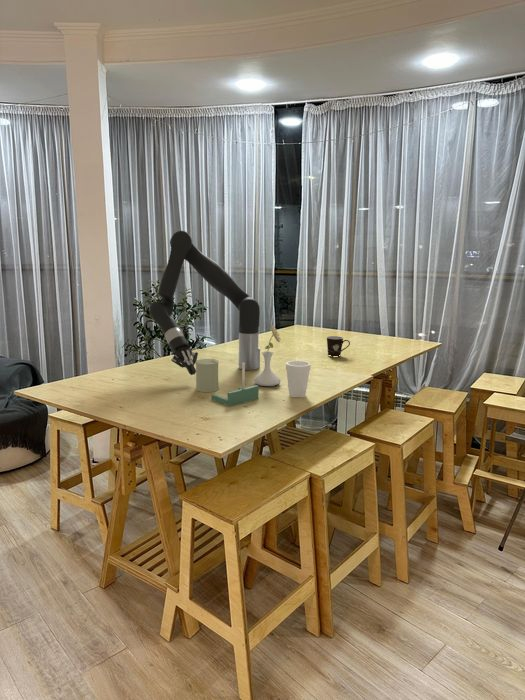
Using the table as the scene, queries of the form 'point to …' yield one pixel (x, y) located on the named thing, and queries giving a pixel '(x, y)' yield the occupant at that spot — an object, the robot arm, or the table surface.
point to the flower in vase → (268, 365)
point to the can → (207, 375)
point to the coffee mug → (335, 345)
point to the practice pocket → (238, 393)
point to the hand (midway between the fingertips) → (193, 373)
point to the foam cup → (297, 377)
